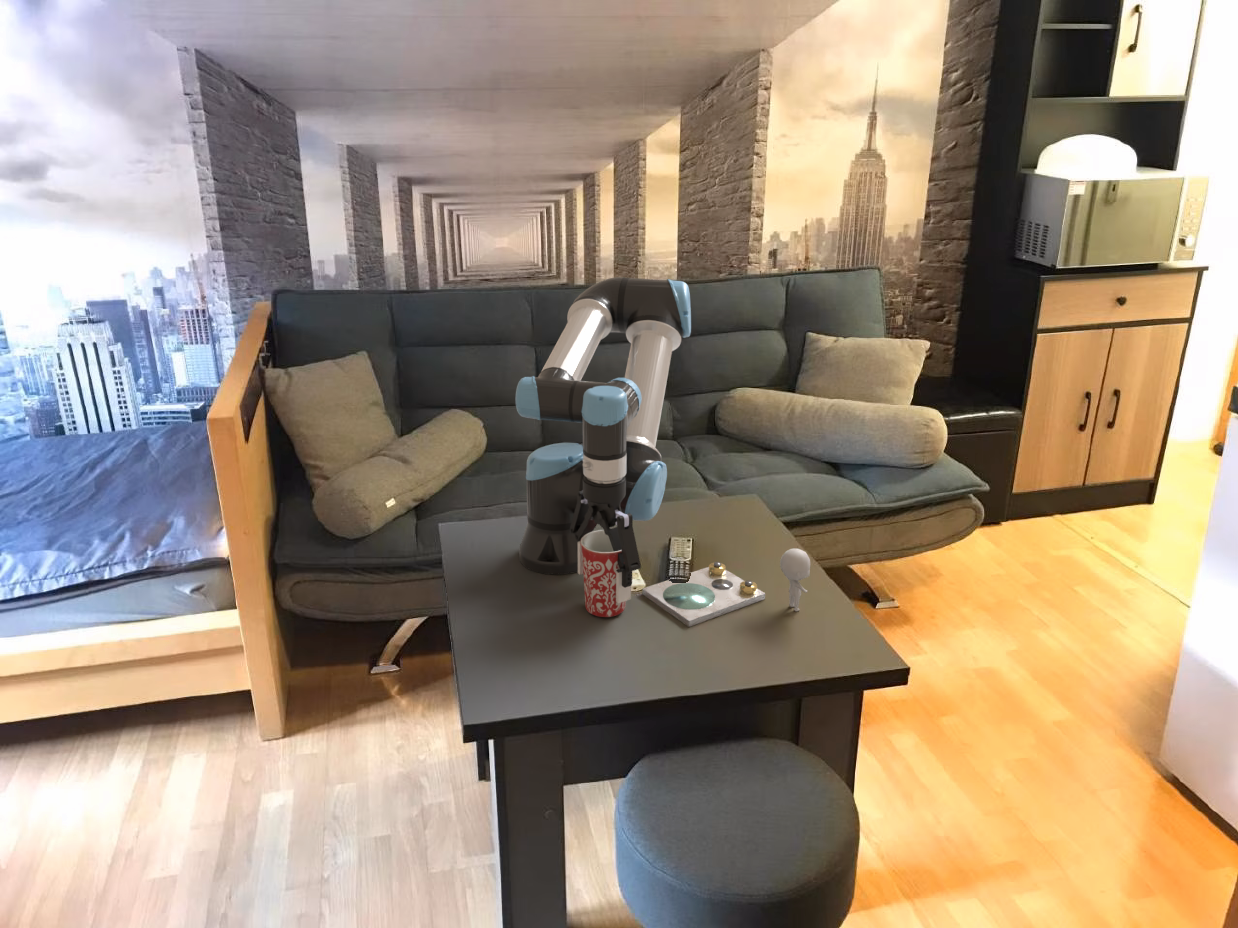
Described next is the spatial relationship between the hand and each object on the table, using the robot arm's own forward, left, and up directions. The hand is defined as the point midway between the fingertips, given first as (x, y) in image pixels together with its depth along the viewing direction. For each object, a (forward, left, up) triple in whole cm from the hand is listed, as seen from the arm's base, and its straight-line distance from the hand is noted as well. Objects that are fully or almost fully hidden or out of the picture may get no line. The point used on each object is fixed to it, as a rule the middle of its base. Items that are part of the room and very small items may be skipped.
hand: (603, 585), depth 176 cm
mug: (0, 0, -4) cm, 4 cm away
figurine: (+20, +28, -4) cm, 35 cm away
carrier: (+8, +17, -4) cm, 19 cm away
